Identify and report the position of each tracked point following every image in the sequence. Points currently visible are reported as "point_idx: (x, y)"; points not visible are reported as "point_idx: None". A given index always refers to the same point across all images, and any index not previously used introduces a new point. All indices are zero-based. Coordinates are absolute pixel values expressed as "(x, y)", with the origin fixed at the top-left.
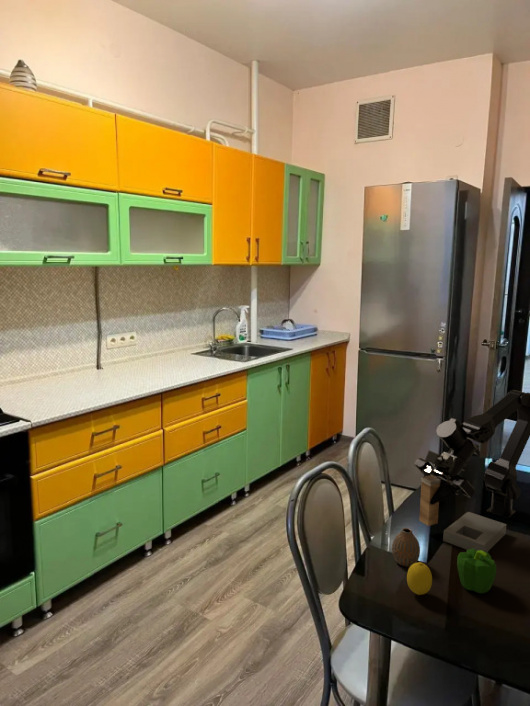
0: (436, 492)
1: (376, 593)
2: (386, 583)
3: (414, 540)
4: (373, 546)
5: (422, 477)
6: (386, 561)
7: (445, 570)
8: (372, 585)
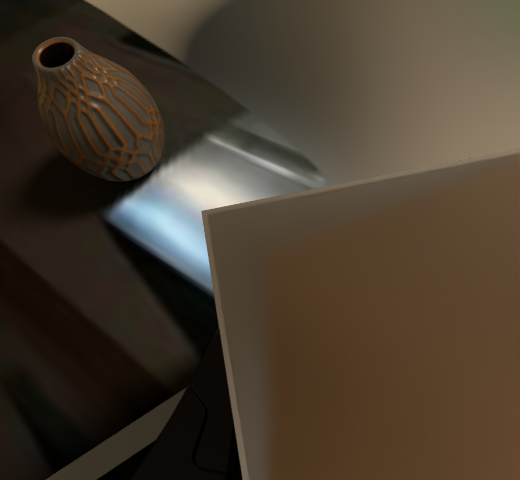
0: (226, 376)
1: None
2: None
3: (39, 99)
4: (246, 109)
5: (503, 160)
6: None
7: (37, 253)
8: None
